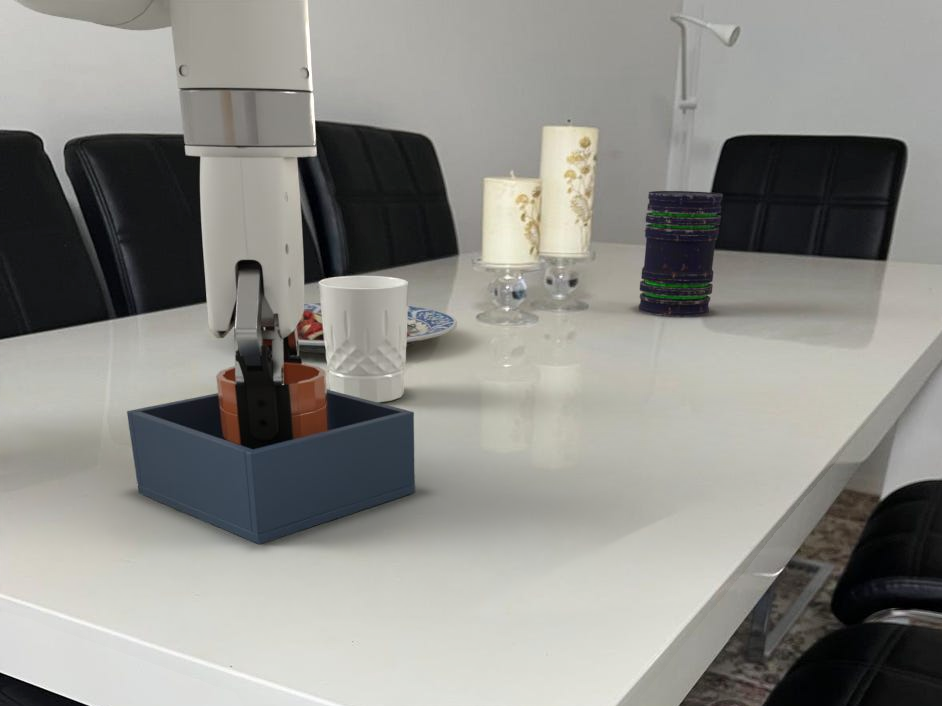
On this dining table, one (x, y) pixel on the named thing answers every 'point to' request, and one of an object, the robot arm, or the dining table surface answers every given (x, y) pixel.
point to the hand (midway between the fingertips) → (275, 429)
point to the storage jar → (679, 253)
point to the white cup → (365, 335)
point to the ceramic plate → (418, 327)
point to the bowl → (304, 397)
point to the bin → (273, 466)
